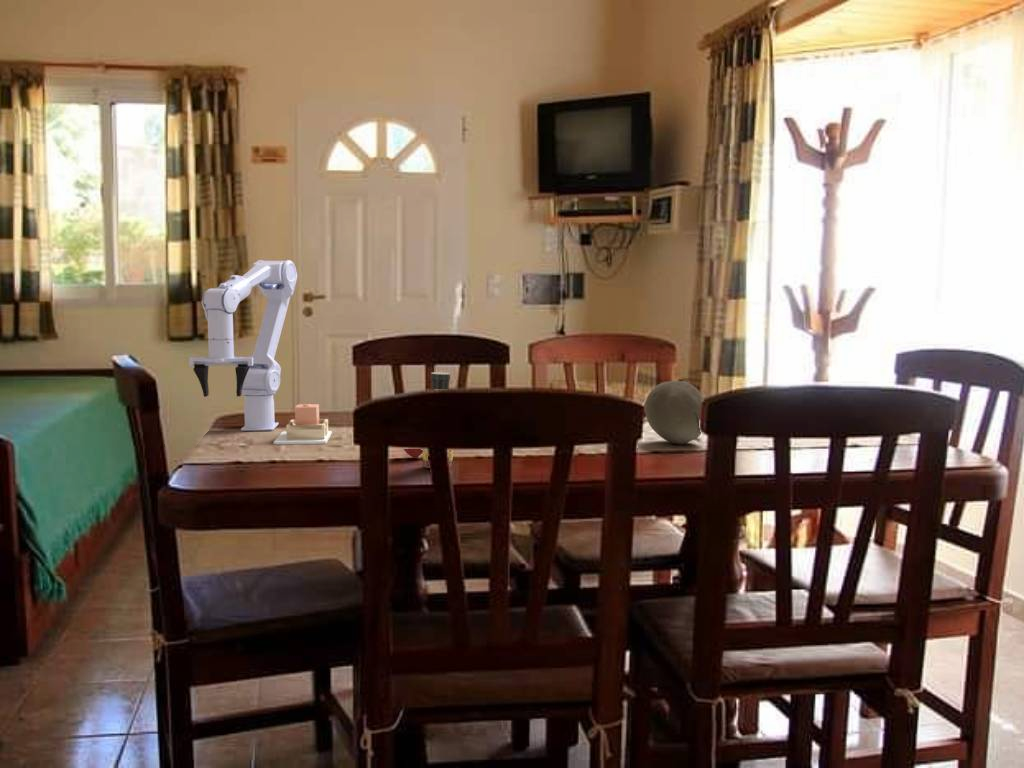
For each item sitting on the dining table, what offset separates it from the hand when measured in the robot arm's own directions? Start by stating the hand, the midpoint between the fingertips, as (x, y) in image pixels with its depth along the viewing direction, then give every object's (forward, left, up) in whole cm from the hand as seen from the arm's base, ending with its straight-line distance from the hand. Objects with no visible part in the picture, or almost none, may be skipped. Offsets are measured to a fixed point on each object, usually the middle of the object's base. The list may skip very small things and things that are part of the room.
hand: (222, 395), depth 229 cm
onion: (+26, +46, -11) cm, 54 cm away
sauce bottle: (+36, +51, -11) cm, 63 cm away
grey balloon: (+13, +107, -11) cm, 108 cm away
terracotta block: (+1, +20, -7) cm, 21 cm away
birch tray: (+1, +20, -10) cm, 23 cm away
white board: (+1, +19, -10) cm, 22 cm away
